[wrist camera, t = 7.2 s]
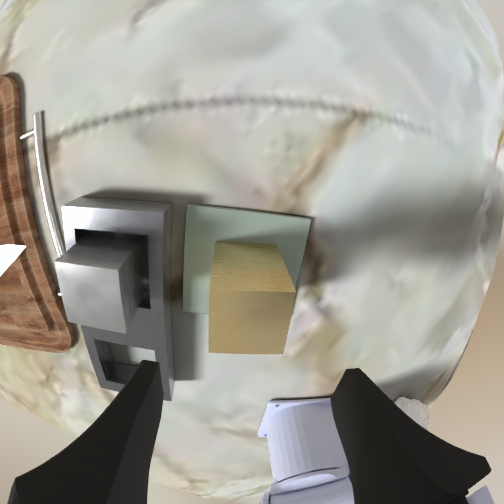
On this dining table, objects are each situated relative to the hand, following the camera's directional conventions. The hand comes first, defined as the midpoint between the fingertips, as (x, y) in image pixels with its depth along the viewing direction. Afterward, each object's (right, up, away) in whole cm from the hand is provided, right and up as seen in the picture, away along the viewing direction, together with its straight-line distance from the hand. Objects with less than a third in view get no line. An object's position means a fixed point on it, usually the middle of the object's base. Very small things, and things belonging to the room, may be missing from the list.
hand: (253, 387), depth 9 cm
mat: (-1, +4, +10) cm, 10 cm away
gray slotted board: (-10, +1, +10) cm, 14 cm away
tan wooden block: (-1, +4, +9) cm, 10 cm away
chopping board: (-37, +6, +7) cm, 38 cm away
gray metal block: (-9, +5, +9) cm, 13 cm away
